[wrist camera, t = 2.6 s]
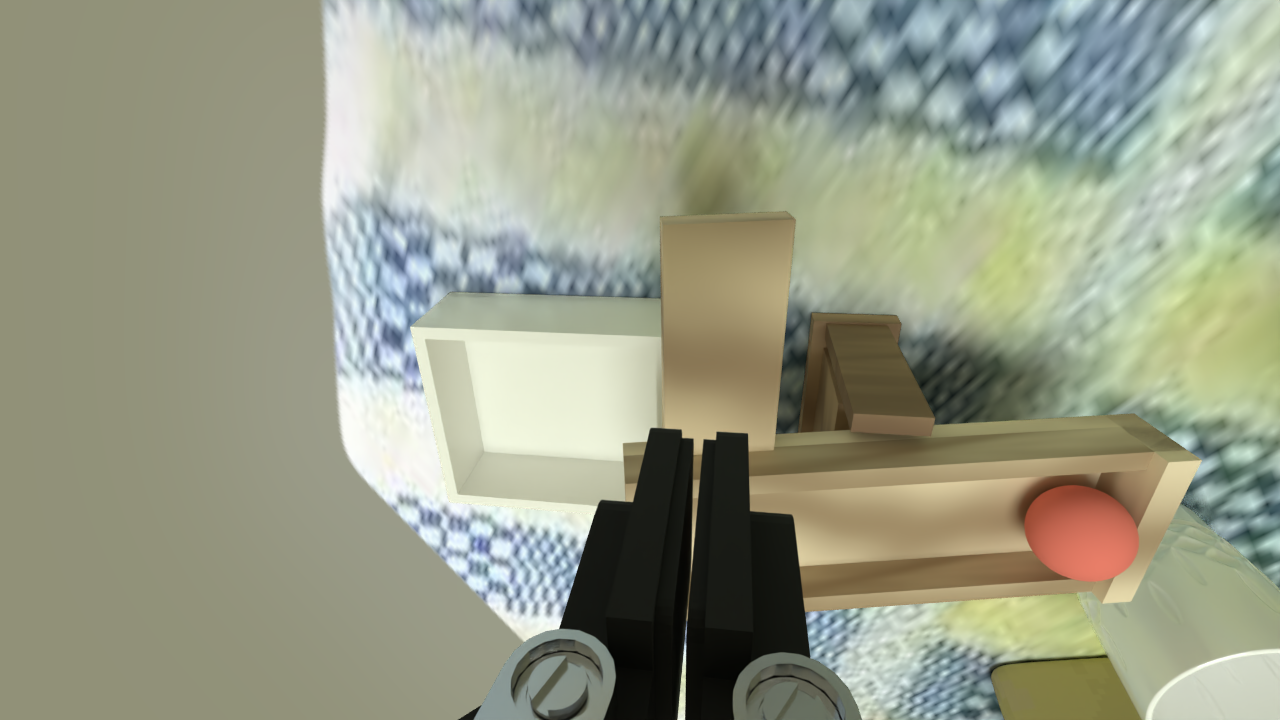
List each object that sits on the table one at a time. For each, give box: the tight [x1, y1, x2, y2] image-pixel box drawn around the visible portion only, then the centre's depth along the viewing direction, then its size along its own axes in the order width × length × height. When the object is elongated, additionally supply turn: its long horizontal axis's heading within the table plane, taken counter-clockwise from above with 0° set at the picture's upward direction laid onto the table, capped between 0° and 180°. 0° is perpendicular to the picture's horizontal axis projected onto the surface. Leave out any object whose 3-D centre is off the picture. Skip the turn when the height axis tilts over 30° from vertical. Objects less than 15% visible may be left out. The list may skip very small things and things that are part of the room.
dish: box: [410, 292, 662, 514], centre depth 32 cm, size 11×12×4 cm
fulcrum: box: [798, 313, 935, 437], centre depth 28 cm, size 10×4×9 cm, turn 1°
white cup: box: [1077, 503, 1280, 720], centre depth 29 cm, size 8×8×10 cm
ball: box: [1024, 485, 1139, 582], centre depth 23 cm, size 4×4×4 cm
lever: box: [623, 211, 1202, 620], centre depth 22 cm, size 16×20×4 cm
